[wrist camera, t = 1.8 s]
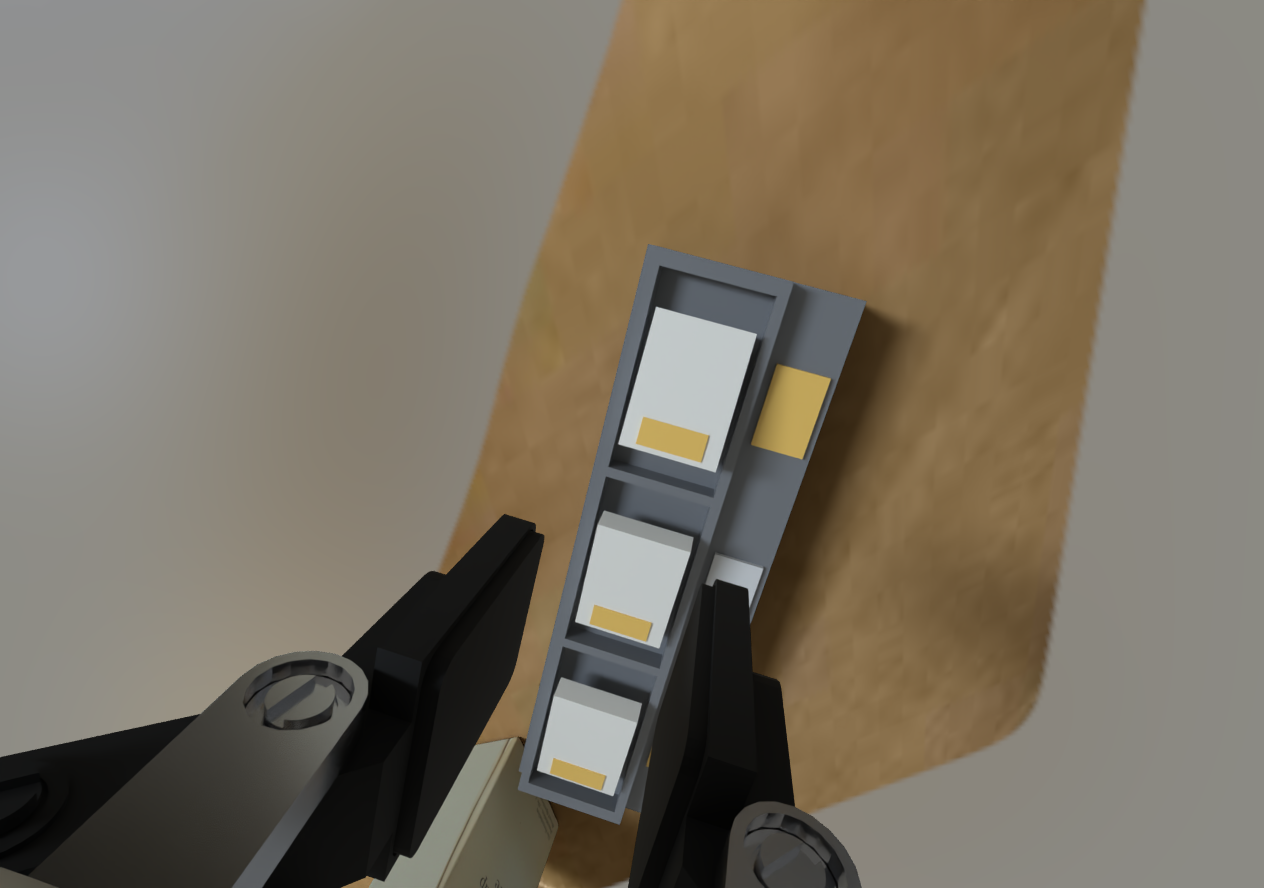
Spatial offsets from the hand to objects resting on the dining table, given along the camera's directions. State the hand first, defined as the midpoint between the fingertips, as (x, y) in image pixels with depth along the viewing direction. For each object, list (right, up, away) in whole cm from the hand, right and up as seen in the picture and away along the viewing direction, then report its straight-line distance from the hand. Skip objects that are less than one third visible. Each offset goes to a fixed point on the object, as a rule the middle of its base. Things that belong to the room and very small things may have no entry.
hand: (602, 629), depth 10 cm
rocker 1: (+2, +5, +12) cm, 13 cm away
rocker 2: (0, -2, +14) cm, 14 cm away
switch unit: (+2, -1, +18) cm, 18 cm away
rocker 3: (-1, -10, +16) cm, 19 cm away
